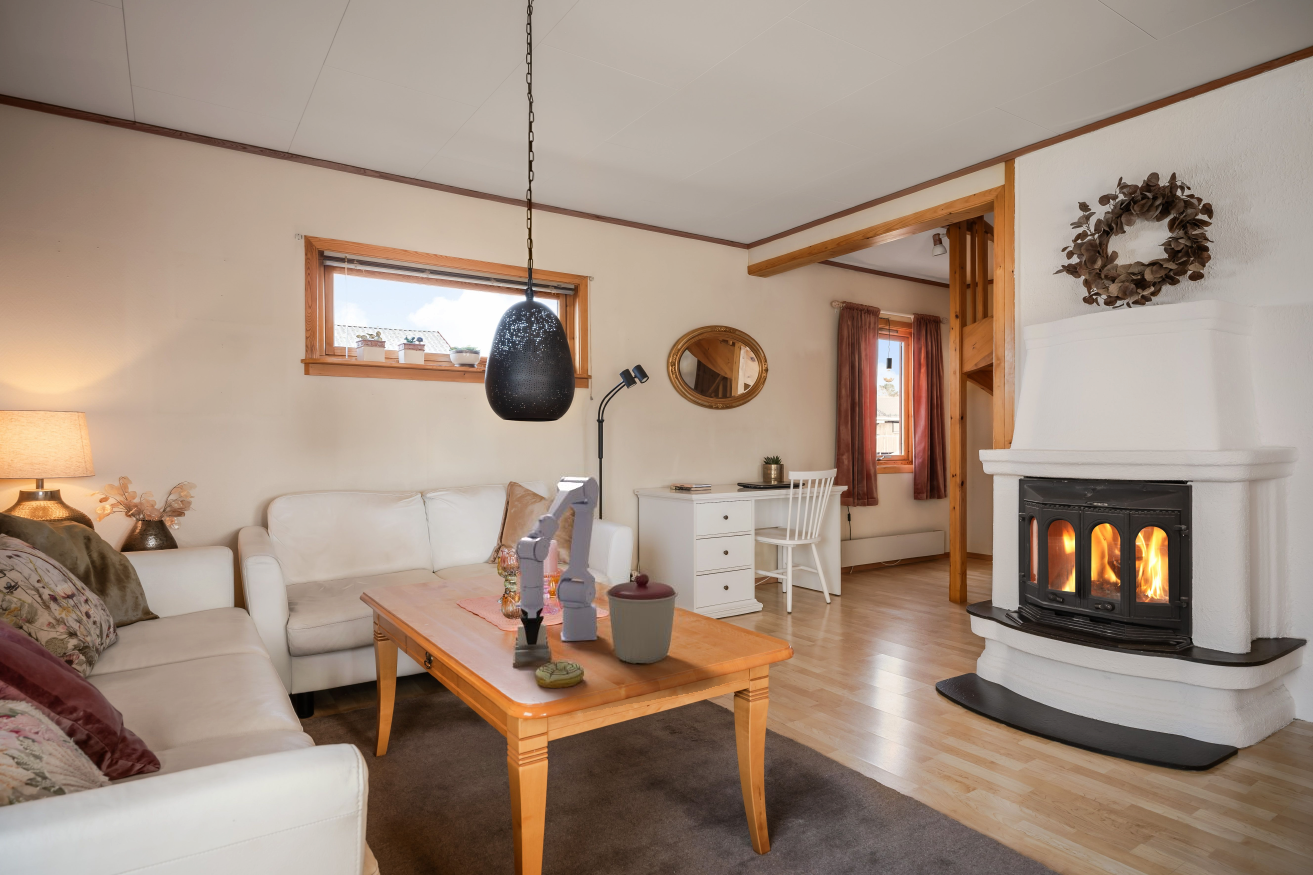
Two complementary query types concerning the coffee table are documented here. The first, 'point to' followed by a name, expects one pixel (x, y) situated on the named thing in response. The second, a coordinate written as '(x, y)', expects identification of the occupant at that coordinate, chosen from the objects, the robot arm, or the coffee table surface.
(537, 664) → the dish rack
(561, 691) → the coffee table surface
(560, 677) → the decorated donut
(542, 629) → the upright cream panel
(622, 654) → the canister
